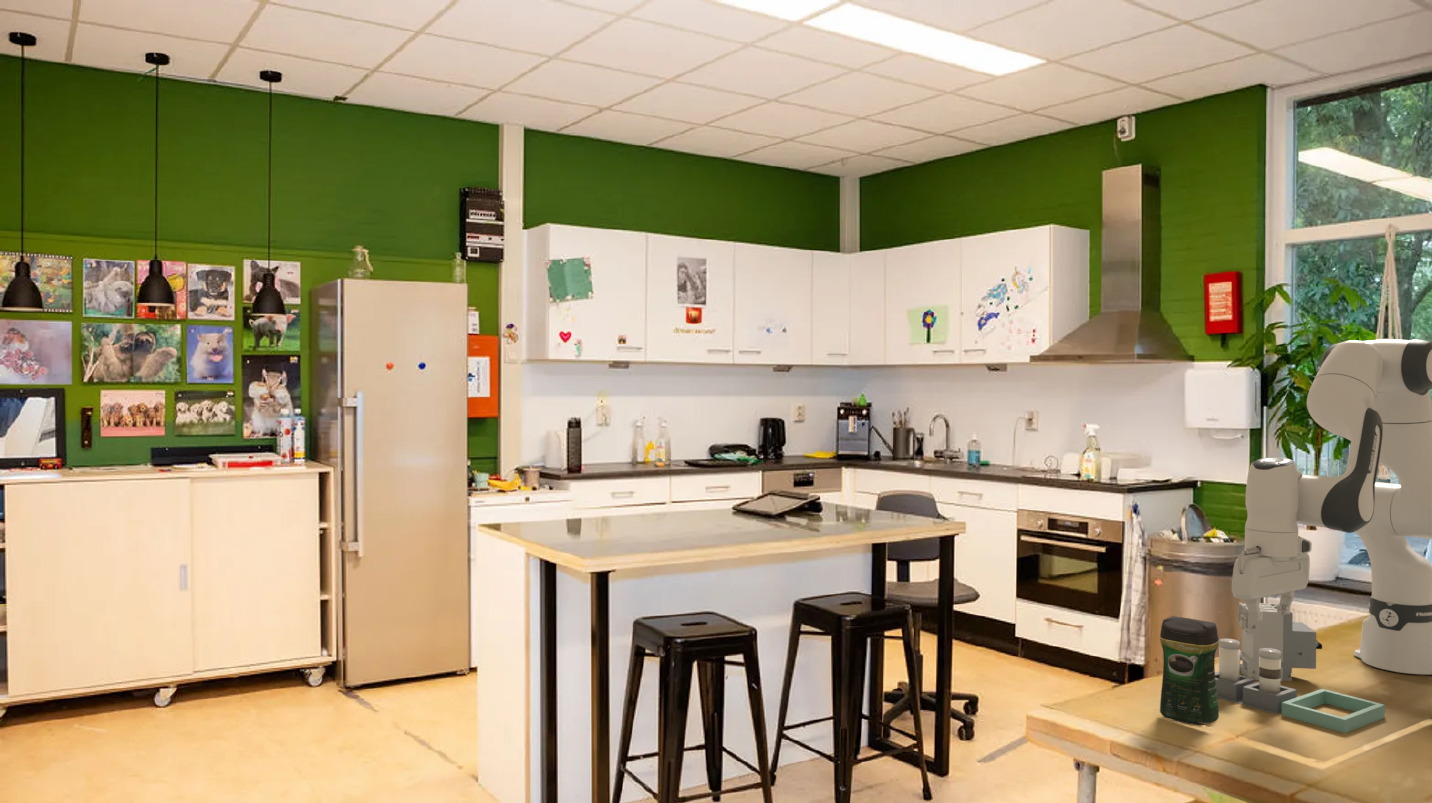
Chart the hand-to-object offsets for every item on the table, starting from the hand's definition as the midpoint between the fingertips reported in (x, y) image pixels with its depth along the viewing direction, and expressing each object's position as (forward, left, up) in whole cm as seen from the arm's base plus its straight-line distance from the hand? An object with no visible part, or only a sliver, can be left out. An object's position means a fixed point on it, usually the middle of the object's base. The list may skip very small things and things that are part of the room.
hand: (1269, 617), depth 193 cm
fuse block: (0, -4, -18) cm, 18 cm away
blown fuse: (0, 0, -17) cm, 17 cm away
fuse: (0, -8, -17) cm, 18 cm away
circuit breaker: (-19, -9, -18) cm, 28 cm away
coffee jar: (+17, -6, -18) cm, 25 cm away
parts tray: (-3, +10, -18) cm, 20 cm away
